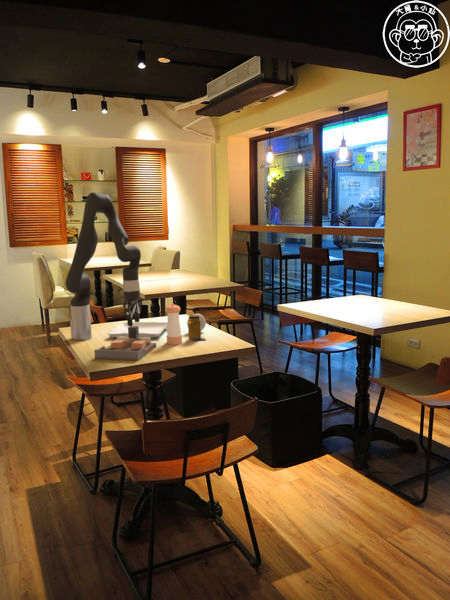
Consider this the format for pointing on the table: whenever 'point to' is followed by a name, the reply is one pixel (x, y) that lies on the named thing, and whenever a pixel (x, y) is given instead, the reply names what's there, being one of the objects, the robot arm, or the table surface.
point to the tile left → (118, 343)
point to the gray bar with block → (134, 336)
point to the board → (129, 348)
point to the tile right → (138, 344)
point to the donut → (202, 321)
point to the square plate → (140, 329)
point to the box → (119, 354)
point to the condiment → (194, 328)
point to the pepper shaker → (173, 325)
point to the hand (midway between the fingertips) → (133, 323)
